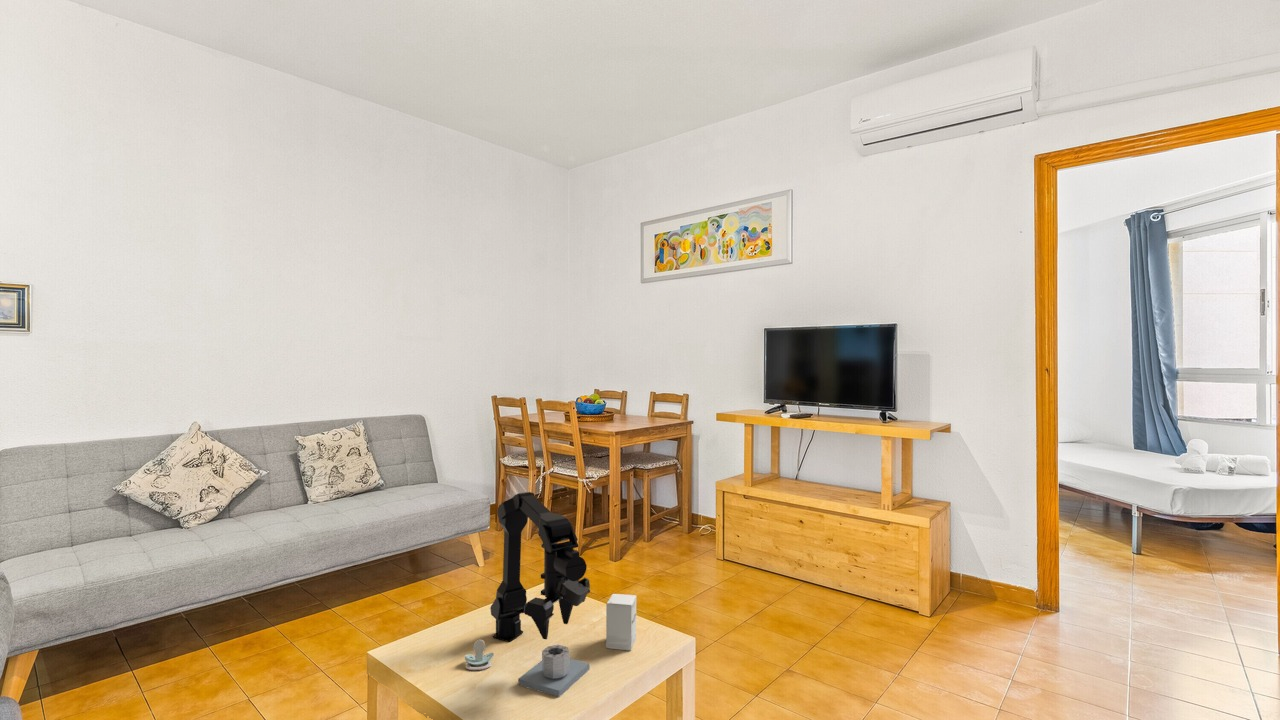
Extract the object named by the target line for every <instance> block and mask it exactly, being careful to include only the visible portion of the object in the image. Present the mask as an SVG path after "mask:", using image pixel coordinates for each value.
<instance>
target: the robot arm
mask: <svg viewBox="0 0 1280 720" xmlns="http://www.w3.org/2000/svg"><path fill="white" fill-rule="evenodd" d="M496 514H497V519H498V523H499V525H500V527H501V528H502V530H503V561H502V562H503V563H502V581H501V582H500V583H499V586H498V587H497V588H496V595H495V599H494V600H493V602H492V603H491V605H490V608H489V610H490V615H491V616H492V617H493V618H494V619H495V633H494V634H492V635H491V637H492V638H493V639H497V640H501V641H504V642H512V641H513V640H515V639H516V638H518V637H519V636H520V635H522V634H523V633H524V630H522V627H521V626H522V624H521V623H522V620H521V619H520V617H521V614H524V615H527V617H531V619H532V621H533V622H534V624H535V625H536V628H537V630H538V632H539V634H540V636H541V638H542V639H543V640H547V639H548V636H549V626H550V619H551V618H552V617H553V616H554V615H555V613H553V611H554V608H555V606H554V604H556V603H558V605H559V611H560V615H561V618H562V623H563V624H564V625H568V624H569V621H570V618H571V615H572V611H573V607H578V606H580V605H581V604H582V603H584V602H585V601H586V598H587V597H588V596H587V595H588V594H590V593H591V589H590V588H591V585H590V579H589V578H587V577H585V574H586V572H587V568H588V567H587V566H588V565H587V563H586V560H585V559H584V558H583V557H582V556H581V555H580V551H579V550H577V549H576V550H575V548H579V544H578V540H579V539H578V537H577V535H576V532H575V530H574V528H573V525H572V522H571V521H570V519H569V518H568V517H566V516H565V515H562V514H559V513H555V512H554V513H553V512H552V511H551V510H550V509H549V508H547V507H546V506H545V505H544V504H543V503H542V502H541V501H540V500H539V499H538V498H537V497H536V495H535V493H534V492H531V491H527V492H520V493H516V494H515V495H513V496H512V497H511V498H509V499H507V500H505V501H502V502H501V504H499V505H498V507H497V510H496ZM528 520H530V521H531V522H532V523H533V524H534V525H535V526H536V527H537V528H538V532H537V536H538V537H539V538H540V540H541V542H542V543H541V548H542V549H544V551H543V552H544V553H543V555H544V558H543V559H544V561H543V562H544V563H543V565H544V566H543V567H544V568H543V569H544V570H543V572H542V573H540V579H543V582H544V585H543V589H540V595H541V596H544V597H545V598H540V597H534V598H532V599H531V600H528V597H527V590H526V588H525V587H524V586H523V584H522V583H521V555H522V553H521V552H522V532H523V531H524V528H525V527H526V526H527V524H528ZM527 600H528V601H527Z"/></svg>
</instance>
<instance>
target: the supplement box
mask: <svg viewBox="0 0 1280 720" xmlns="http://www.w3.org/2000/svg"><path fill="white" fill-rule="evenodd" d="M605 609H606V616H605V618H606V621H605V622H606V627H605V628H606V629H605V631H606V637H605V639H606V640H605V641H606V643H605V647H606V649H612V650H621V651H622V650H623V651H632V649H633V647H634V644H635V641H636V640H637V595H636V594H622V593H612V594H611V596H610V597H609V599H608V600H607V602H606V608H605Z"/></svg>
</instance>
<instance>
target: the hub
mask: <svg viewBox="0 0 1280 720" xmlns="http://www.w3.org/2000/svg"><path fill="white" fill-rule="evenodd" d="M569 658H570V650H569V647H568V646H566V645H561V644H554V645H548V646H546V647H545V648H544V649H543V650H541V661H542V672H543V675H544V676H545V677H549V678H552V679H554V678H560V677H564V676H565V675H566V674H567V673H569Z"/></svg>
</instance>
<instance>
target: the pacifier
mask: <svg viewBox="0 0 1280 720" xmlns="http://www.w3.org/2000/svg"><path fill="white" fill-rule="evenodd" d="M472 648H473V650H474V655H473V654H466V655H464V659H465V661H466V662H467V664H465V668H466V669H467V670H470V671H481V670H486V669H488V668H490V667H491V665H492V663H491V662H490V661H491V660H492V659H493V657H494V652H489V653H487V654H485V655H484V651H485V649H486V643H485V640H483V639H477V640H476V641H475V642H474V643H473V646H472Z"/></svg>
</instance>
